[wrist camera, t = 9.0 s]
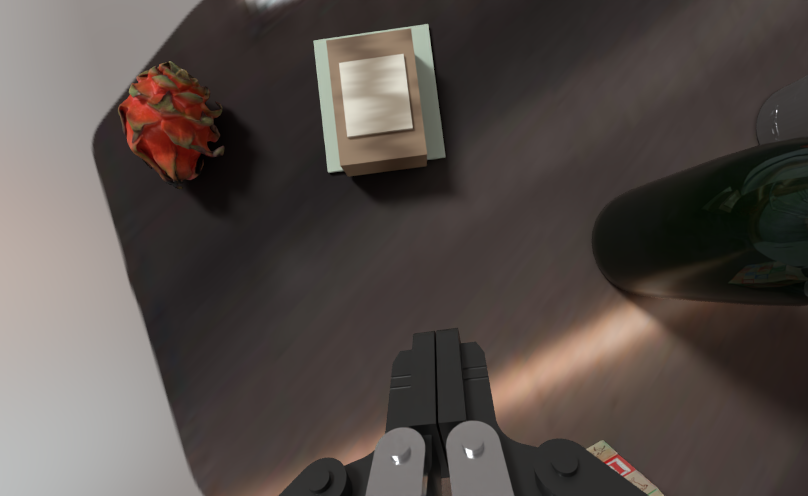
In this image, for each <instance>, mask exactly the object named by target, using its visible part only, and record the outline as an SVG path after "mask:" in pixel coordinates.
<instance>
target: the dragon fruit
mask: <svg viewBox="0 0 808 496" xmlns="http://www.w3.org/2000/svg"><path fill="white" fill-rule="evenodd" d="M137 80H138V82H139V83H138V84H134V83H132V84H131V87H130V89H129V93H130V96H129V97H128V98H127V100H125V101H124V102H123V103H122V104H121V105H120V106H119V107H118V112H119V115H120V117H121V122H122V126H123V132H124V134H125V136H126V138H127V142H128V144H129V146H130V148H131V150H132V151H133V153H135V154H136V155H137V156H139V157H141V158H142V160H143V161H144V162H145V163H146V164H147V165H148V166H149V167H150V168H151V169H152V167H153V168H154V169H155V171H156V172H158V173H159V175H160V176H161V178H162V179H163V180H164V182H166V183H168V184H170V185H173V186H174V187H175V188H177V189H183V188H182V186H179V184H180V183H183V182H182V181H183V180H185V179H186V180H192V179H194V178H196V177H197V176H198V175H200V174H201V170H202V167H203V164H204V162H203V160H204V159H202V162H201V163H202V164H201V165H200V162H199V163H198V165H197V168H196V172H195V167H196V162H197V159H198V158H199V156H200V155H201V153H202V154H205V155H206V156H208V157H210V158H215V157H218V156H223V153H224V146H221V147H219V148H217V149H216V150H215V151H210V150H209V148H208V145H207V142H208V141H212V142H216V141H217V140H218V139H219V137H220V133H219V132H218V129H217V127H216V126H215V125H213V124H214V122H213V121H214V120H213V118H217V117H218V116H220V114H221V113H222V106H221V104H220V103H218V102H216V104H217V105H218V106H219V107H220V110H215V111H210V110H209V109H208V108H207V106H206V105H205V102H206V101H207V100H208V99H209V97H210V90H209V89H208V87H206V86H205V87H202V86H200V85H199V83H198V80H197V79H196V78H194V77H192V76H191V75H189V74H188V73H187V71H186V70H182V69H181V68H180V67H179V66H176V65H175V64H174V63H173V62H171V61H169V62H166V63H162V64H160V65H159V67H158V68H157V66H154V67H152V68H151V69H150V70H149V71H145V72H143V73H141V74H140V75H138V76H137ZM151 166H152V167H151ZM173 180H174V182H175V183H174V182H173ZM186 185H187V184H186Z"/></svg>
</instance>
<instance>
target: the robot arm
mask: <svg viewBox="0 0 808 496" xmlns="http://www.w3.org/2000/svg"><path fill="white" fill-rule="evenodd" d="M756 128H757V137H758V141H759V144H760V145H762V144H765V143H768V142H772V141H778V140H784V139H790V138H797V137H803V136H808V75H807V76H806V77H804V78H802V79H800V80H798V81H796V82H794V83H792V84H790V85H788V86H786V87H784V88H782V89H780V90H779V91H777V92H775V93H774V94H773V95H772V96H771V97H769V98H768V99H767V100H766V102H765V103H764V105H763V106H762V108H761V110H760V113H759V115H758V119H757V125H756ZM391 377H392V379H391V385H390V389H391V390H390V394H389V404H388V413H387V423H386V431H385V435H384V436H383V437H382V438H381V439H380V440H379V442H378V443H377V445H376V448H375V450H374V451H373V452H372V453H371V454H369V455H368V456H366V457H364V458H362V459H359V460H357V461H355V462H352V463H350V464H348V465H345V466H344V465H343V464H342V463H341V462H340V461H339V460H337V459H334V458H322V459H319V460H317V461H315V462H313V463H311V464H310V465H309V466H307V467H306V468H305V469H304V470H303V471H302V472H301V473H300V474H299V475H298V476H297V477H296V478H295V479H294V480H293V481H292V483H291V484H290V485H289V486H288V487H287V488H286V489H285V490H284V491H283V492H282V493H281V494H280V495H279V496H442V485H441V478H448V477H450V481H451V489H452V496H649V495H647V494H646V493H645V492H643V491H642V490H641V489H639V488H638V487H637V486H635V485H634V484H633V483H631V482H630V481H628V480H627V479H626V478H624V477H623V476H622V475H620V474H619V473H618V472H616V471H615V470H614V469H612V468H611V467H609V466H608V465H607V464H605V463H604V462H603V461H601V460H600V459H599V458H597V457H596V456H594V455H593V454H592V453H590V452H589V451H588V450H586V449H585V448H584V447H582V446H581V445H579V444H577V443H575V442H573V441H570V440H566V439H552V440H549V441H546V442H544V443H543V444H541V445H540V446H539V447H533V446H529V445H524V444H521V443H518V442H515V441H513V440H512V439H510V438H508V437H507V436H506V435H505V434H504V433H503V432H502V431H501V430H500V428H499V426H498V424H497V421H496V417H495V411H494V406H493V400H492V394H491V388H490V383H489V377H488V371H487V365H486V360H485V354H484V351H483V350H482V349H481V348H480V346H479V345H478V344H477V343H476V342H469V343H461V341H460V336H459V331H458V328H453V329H446V330H438V331H436V332H435V331H431V332H424V333H416V334H413V346H412V350H406V351H400V352H399V354H398V356H397V357H396V359H395V361H394V362H393V366H392V376H391Z"/></svg>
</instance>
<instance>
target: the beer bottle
mask: <svg viewBox="0 0 808 496" xmlns="http://www.w3.org/2000/svg"><path fill="white" fill-rule="evenodd" d="M592 248H593V254H594V257H595V260H596V263H597V265H598V266H599V268H600V270H601V272H602V273H603V274H604V275H605V276H606V278H607V279H608V280H609V281H610V282H612V283H613V284H614V285H615V286H617V287H618V288H620V289H622V290H624V291H626V292H628V293H632V294H635V295H639V296H644V297H653V298H664V299H675V300H687V301H701V302H715V303H730V304H744V305H765V306H807V305H808V136H803V137H797V138H790V139H784V140H778V141H772V142H768V143H765V144H762V145H758V146H755V147H752V148H749V149H745V150H742V151H739V152H735V153H732V154H729V155H725V156H722V157H719V158H716V159H713V160H710V161H708V162H705V163H702V164H699V165H696V166H694V167H691V168H688V169H685V170H682V171H680V172H677V173H674V174H672V175H669V176H666V177H663V178H661V179H658V180H655V181H652V182H650V183H647V184H644V185H642V186H639V187H637V188H634V189H631V190H629V191H627V192H625V193H623V194H621V195H619V196H618V197H616V198H614V199H613V200H612V201H610V202H609V203H608V204H607V205H606V206H605V207H604V209H603V210H602V211H601V212H600V214H599V216H598V218H597V220H596V222H595V225H594V228H593V232H592Z"/></svg>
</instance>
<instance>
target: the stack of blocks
mask: <svg viewBox="0 0 808 496" xmlns="http://www.w3.org/2000/svg"><path fill="white" fill-rule="evenodd" d="M586 450H588V451H589V452H590V453H592V454H593V455H594V456H596V457H597V458H599V459H600V460H601V461H603V462H604V463H605V464H607V465H608V466H609V467H611V468H612V469H614V470H615V471H616V472H618V473H619V474H620V475H622V476H623V477H624V478H626V479H627V480H628V481H630V482H631V483H633V484H634V485H635V486H637V487H638V488H639V489H641V490H642V491H643V492H645V493H646V494H647V495H649V496H665V495H664V494H662V493H661V491H660V490H659V489H658V488H657V487H656V486H655V485H654V484H652V483H651V482H650V481H649V480H648V479H647V478H646V477H645V476H644V475H642V474H641V473H640V472H639V471H637V470H636V469H635V468H634V467H633V466H631V465H630V464H629V463H628V462H627V461H626V460H624V459H623V458H622V457H621V456H620V455H618V453H617V452H616V451H615V450H613V449H612V448H611V447H610V446H609V445H608V444H607V443H606V442H605V441H603V440H602V441H600V442H598V443H596V444H595V445H593V446H591V447H589V448H588V449H586Z"/></svg>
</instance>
